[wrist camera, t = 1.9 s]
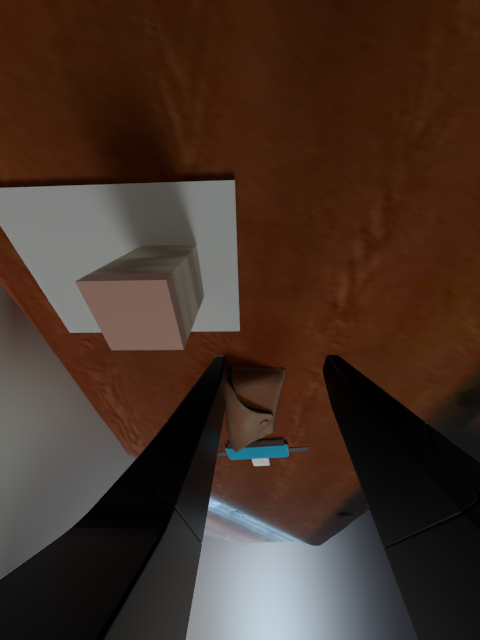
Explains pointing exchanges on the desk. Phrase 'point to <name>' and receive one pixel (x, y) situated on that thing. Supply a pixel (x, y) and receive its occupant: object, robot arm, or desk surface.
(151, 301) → the birch block
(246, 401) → the sunglasses case
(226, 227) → the grey mat
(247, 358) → the desk surface
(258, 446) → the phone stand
